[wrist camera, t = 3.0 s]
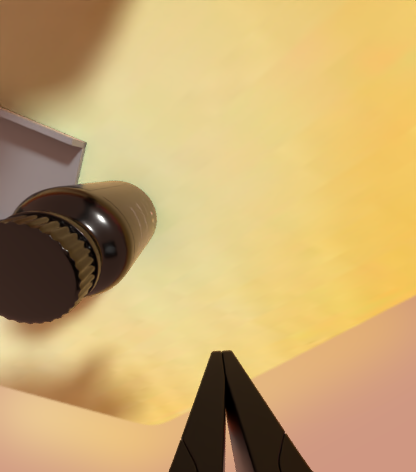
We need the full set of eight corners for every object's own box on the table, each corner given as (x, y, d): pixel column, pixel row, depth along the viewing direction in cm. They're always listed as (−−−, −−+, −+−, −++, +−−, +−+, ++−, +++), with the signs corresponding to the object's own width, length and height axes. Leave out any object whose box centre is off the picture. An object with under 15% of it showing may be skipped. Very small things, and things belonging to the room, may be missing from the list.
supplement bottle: (94, 251, 21) (-37, 348, 9) (79, 182, 19) (-112, 195, 7) (162, 248, 21) (116, 339, 9) (154, 178, 19) (83, 187, 7)
